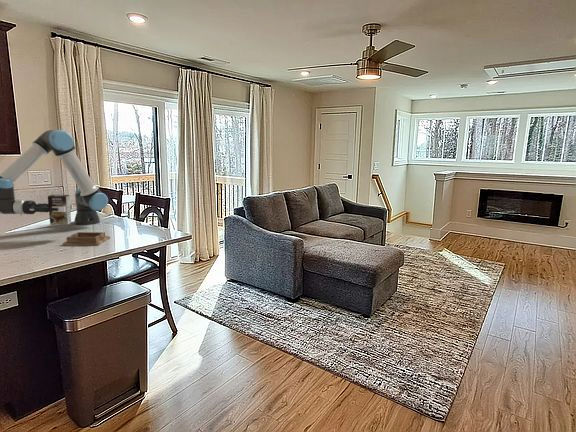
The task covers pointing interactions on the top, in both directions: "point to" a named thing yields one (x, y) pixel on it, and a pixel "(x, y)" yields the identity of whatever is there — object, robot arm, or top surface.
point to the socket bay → (87, 238)
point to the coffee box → (59, 217)
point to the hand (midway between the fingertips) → (68, 207)
